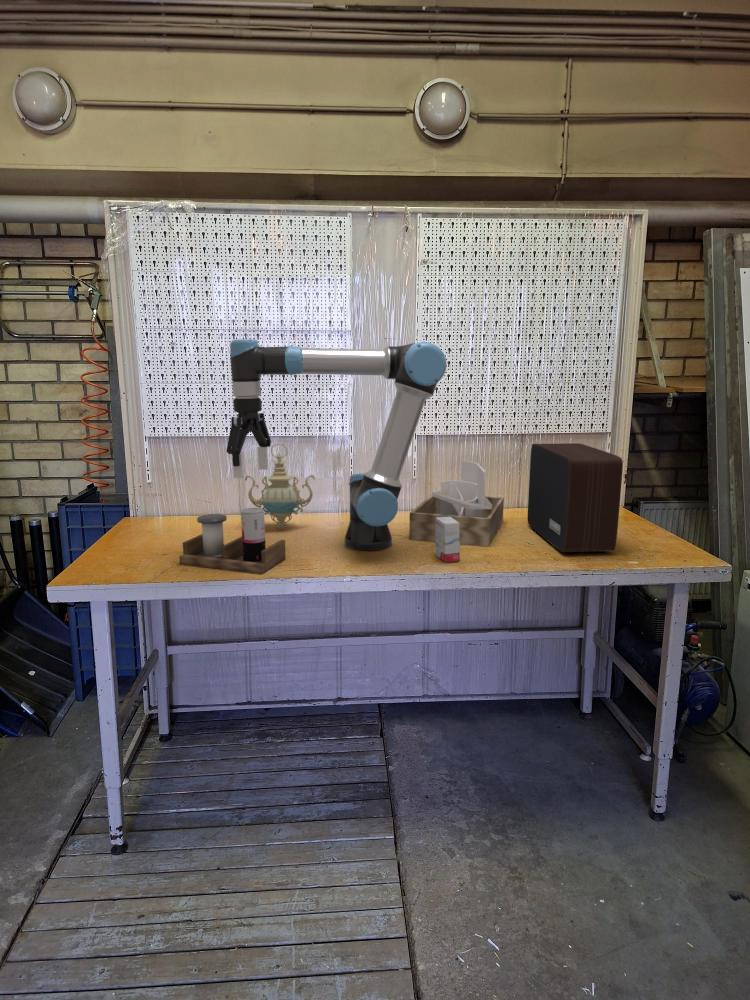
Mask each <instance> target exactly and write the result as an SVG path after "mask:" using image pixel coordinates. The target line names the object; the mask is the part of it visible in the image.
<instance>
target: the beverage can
mask: <svg viewBox="0 0 750 1000" xmlns="http://www.w3.org/2000/svg"><path fill="white" fill-rule="evenodd" d="M265 522H266V521H265V512H264V511H263V509H262V507H261V508H259V507H248V508H247V507H246V508H243V509H241V512H240V525H241V537H242V546H243V560H244V561H248V562H257V563H261V562H262V554H261V551H262V550H264V549H266V548H267V547H266V527H265V526H266V525H265V524H266V523H265Z"/></svg>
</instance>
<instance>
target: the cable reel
mask: <svg viewBox="0 0 750 1000" xmlns="http://www.w3.org/2000/svg"><path fill="white" fill-rule="evenodd" d="M227 520H228V518H227V515H225V514H219V513H210V514H209V513H208V514H204V515H200V516H198V517H197V518H196V522H197V523H199V524H201V534H202V536H203V551H202V552H200V553H199V555H200V556H204V557H213V558H222V554H221V547H222V546H224V545H225V542H224V541H225V540H224V524H223V523H224V522H226V521H227Z"/></svg>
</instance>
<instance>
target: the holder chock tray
mask: <svg viewBox="0 0 750 1000" xmlns="http://www.w3.org/2000/svg"><path fill="white" fill-rule="evenodd" d="M485 496H486V495H485ZM486 498H487V499H488V500H489V502H490V503H491V504H492V509H483V515H482V518H478V517H465V516H453V515H440V506H441V499H438V498H435V497H433V496H432V494H430V495H429V496H428V497H427V498H426V499H425V500H423V501H422V502H420V504H419V505H418V506H416V507H415V508H414V509H412V510H411V511H410V512H409V532H408V533H409V537H408V538H409V539H408V540H413V541H422V542H423V541H424V542H432V543H433V542H435V543H436V518H437V517H452V518H453V519H454V520H456V521H457V522H459V523H460V524H459V545H464V544H466V546H475V545H477V546H476V547H486V546H487V548H489V547H490V545H491V544H492V542H493V540H494V538H495V537H496V534H497V533H498V532H499V529H500V527H501V525H502V524H503V521H504V502H505V501H504V500H505V497H500V496H499V497H498V496H497V497H496V496H486Z"/></svg>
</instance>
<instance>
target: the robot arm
mask: <svg viewBox="0 0 750 1000" xmlns="http://www.w3.org/2000/svg"><path fill="white" fill-rule="evenodd" d="M229 346H230V347H229V349H230V352H229V353H230V357H229V358H230V371H231V372H230V373H231V383H232V386H231V387H232V396H233V397H235V398H233V400H232V401H233V402H232V403H233V411H234V412H235V413H237V416H231V419H230V420H231V421H230V425H231V426H230V431H229V436H228V439H227V440H228V441H227V447H226V453H227V455H228V454H229V455H231V458H232V459H231V460H232V470H233V478H234V479H245V474H244V471H245V470H244V456H243V453H241V452H242V450H243V447H244V443H245V441H246V438H247V435H248V434H249V433H250V432H251V433H252V435H253V437H254V439H255V440H256V443H257V444H258V447H257V463H258V470H267V471H268V470H269V464H268V463H269V462H268V461H269V460H268V448H270V447H271V444H272V440H271V436H270V433H269V430H268V427H267V424H266V423H267V422H266V420H265V413H263V412H261V411H262V399H261V398H260V396H261V395H262V391H261V389H262V388H261V376H266V375H270V376H271V375H273V376H280V375H281V376H282V375H283V376H284V375H289V376H294V375H337V376H338V375H342V376H345V375H346V376H382V377H383V378H384V379H385V380H394V382H393V383H394V386H395V388H396V393H395V396H394V399H393V402H392V404H391V405H392V406H391V408H390V411H389V414H388V417H387V420H386V423H385V426H384V430H383V432H382V435H381V439H380V442H379V445H378V448H377V450H376V453H375V456H374V460H373V463H372V466H371V468H370V469H369V470H368V471H366V472H364V473H353V474H351V475H350V476H349V482H348V486H349V522H348V526H347V529H346V533H345V535H344V546H345V547H346V548H348V549H351V550H355V551H356V550H357V551H370V552H371V551H381V550H385V549H388V548H390V547H391V546H392V545H393V544H392V543H393V538H392V534H391V531H390V527H389V523H391V522H392V521H393V520H394V519H395V518H396V516H397V514H398V511H399V502H398V501H399V500H398V498H399V496H400V494H401V493H400V492H401V489H402V486H403V485H402V483H401V481H400V478H401V473H402V471H403V467H404V465H405V462H406V459H407V456H408V452H409V450H410V447H411V444H412V441H413V439H414V438H413V437H414V436H415V432H416V430H417V429H416V428H417V427H418V423H419V421H420V418H421V415H422V412H423V408H424V405H425V404H426V401H427V400H428V399H430V398H432V397H433V395H434V393H435V390H436V387H437V384H438V383H439V382H440V381H441V380H442V379H443V377H444V375H445V374H446V371H447V358H446V355H445V354H444V352H443V350H442V349H441V348H440V347H439V346H438V345H436V344H435V343H432V342H428V341H419V342H411V343H408V344H404V345H397V346H390V345H389V346H385V348H383V349H371V348H368V349H364V348H363V349H362V348H323V347H321V348H320V347H319V348H317V347H316V348H313V347H301V346H293V345H289V346H288V345H287V346H260V344H259V341H258V340H257V339H254V338H252V339H251V338H250V339H246V338H245V339H241V338H240V339H232V340H231V341H230V345H229Z"/></svg>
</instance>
